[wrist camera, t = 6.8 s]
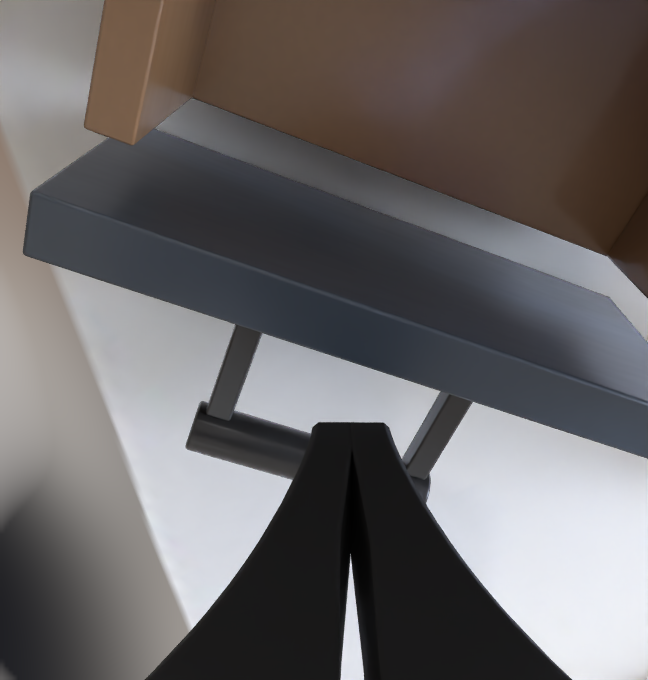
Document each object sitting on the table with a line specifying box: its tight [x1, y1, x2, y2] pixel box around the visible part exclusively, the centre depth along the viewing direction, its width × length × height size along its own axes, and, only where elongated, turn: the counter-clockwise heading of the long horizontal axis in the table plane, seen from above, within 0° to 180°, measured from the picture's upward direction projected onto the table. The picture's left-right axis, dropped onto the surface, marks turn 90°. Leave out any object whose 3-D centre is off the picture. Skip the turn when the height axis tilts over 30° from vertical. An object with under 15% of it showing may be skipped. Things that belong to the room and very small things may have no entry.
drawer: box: [23, 0, 648, 503], centre depth 12 cm, size 18×13×6 cm
